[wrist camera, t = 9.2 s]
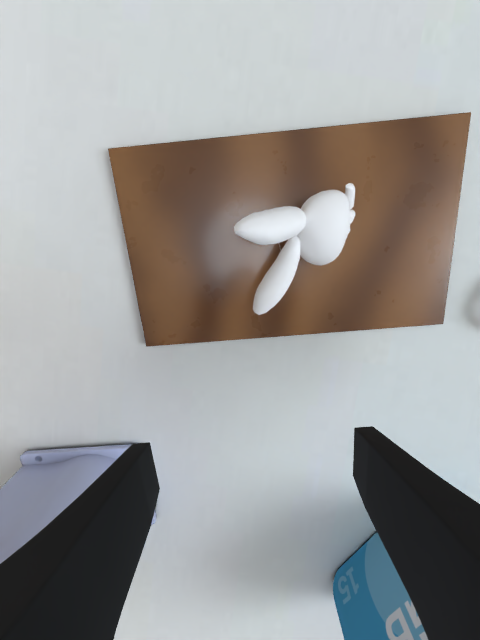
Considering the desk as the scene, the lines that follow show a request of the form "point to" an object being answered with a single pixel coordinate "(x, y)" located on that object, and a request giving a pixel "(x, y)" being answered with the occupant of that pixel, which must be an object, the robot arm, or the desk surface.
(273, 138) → the brown wooden board
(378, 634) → the data package
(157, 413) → the desk surface
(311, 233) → the rabbit figurine
